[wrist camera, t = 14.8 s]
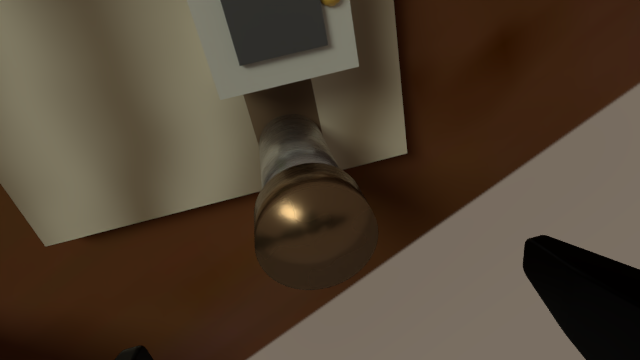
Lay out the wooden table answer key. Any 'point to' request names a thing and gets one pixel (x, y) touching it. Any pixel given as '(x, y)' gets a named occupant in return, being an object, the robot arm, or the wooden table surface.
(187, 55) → the board
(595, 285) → the robot arm
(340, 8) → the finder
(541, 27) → the wooden table surface
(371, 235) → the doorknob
